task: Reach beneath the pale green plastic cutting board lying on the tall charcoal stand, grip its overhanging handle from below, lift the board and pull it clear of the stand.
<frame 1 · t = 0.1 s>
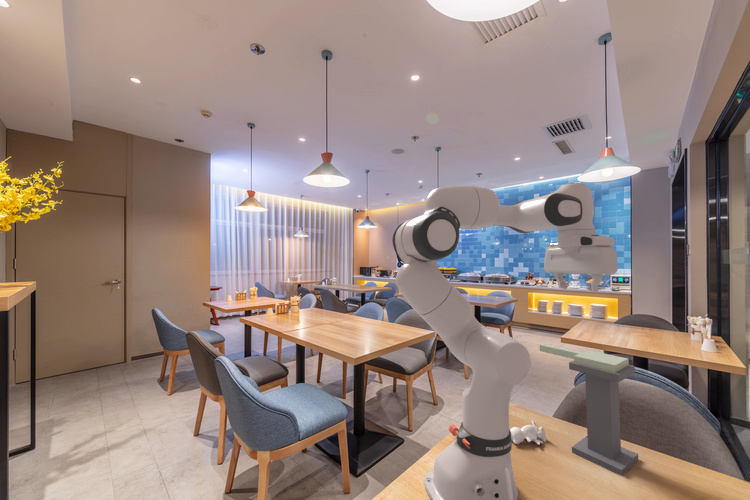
hand: (577, 290, 85), 48 cm above the table, tool pointing down, fingers open, 8 cm apart
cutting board: (601, 364, 88), point 26 cm above the table, touching stand
stand: (604, 455, 87), on the table
toy figure: (525, 441, 95), on the table
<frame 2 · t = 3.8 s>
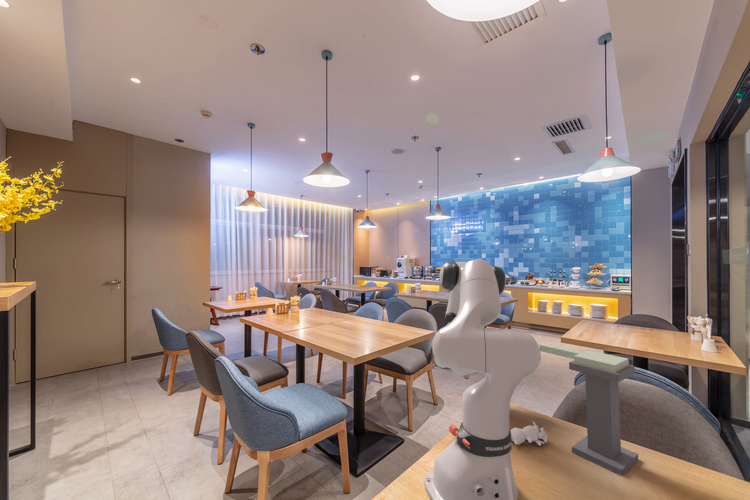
hand: (508, 346, 112), 24 cm above the table, tool pointing upward, fingers open, 8 cm apart
nothing on the table moved.
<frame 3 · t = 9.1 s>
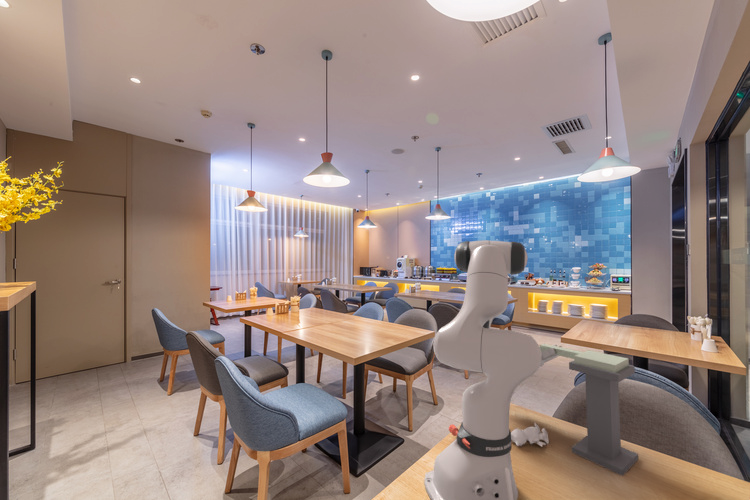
hand: (558, 349, 98), 27 cm above the table, tool pointing upward, fingers closed on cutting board, 3 cm apart
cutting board: (601, 364, 88), point 26 cm above the table, touching gripper, stand
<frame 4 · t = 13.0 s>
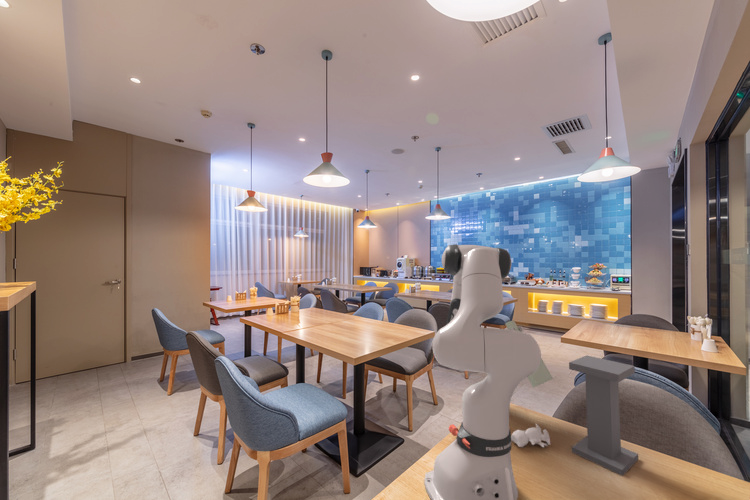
hand: (518, 329, 110), 31 cm above the table, tool pointing upward, fingers closed on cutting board, 3 cm apart
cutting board: (532, 368, 105), point 19 cm above the table, tilted 57°, touching gripper
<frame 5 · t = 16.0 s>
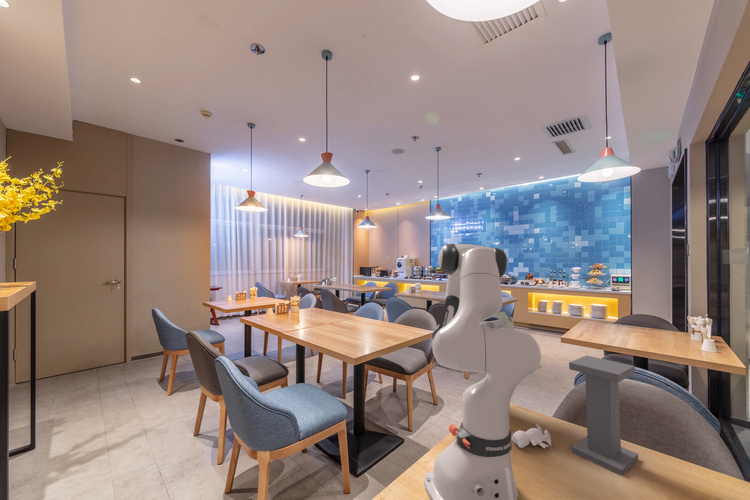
hand: (508, 319, 113), 34 cm above the table, tool pointing upward, fingers closed on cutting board, 3 cm apart
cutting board: (521, 357, 108), point 22 cm above the table, tilted 57°, touching gripper
at the end: the gripper is holding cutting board; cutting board touching gripper; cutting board moved 24.6 cm from its start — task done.
